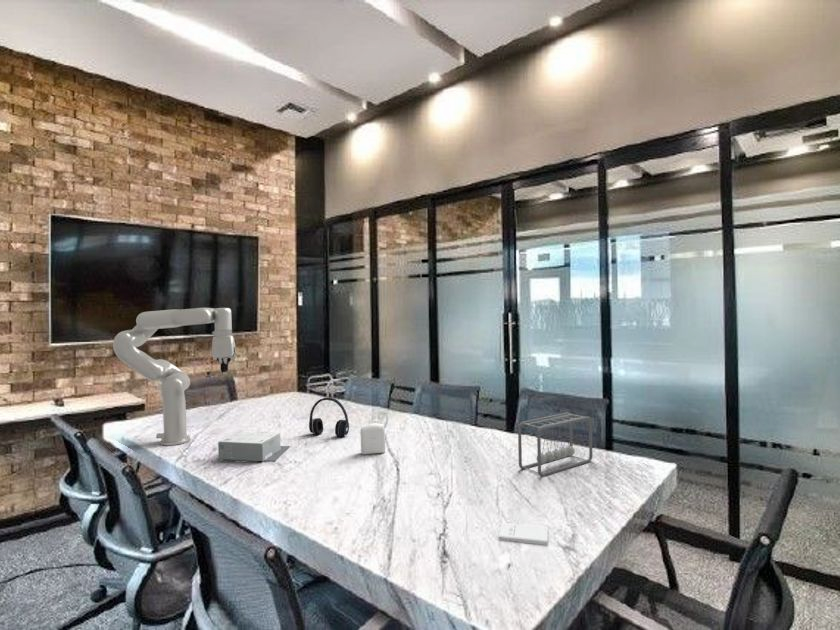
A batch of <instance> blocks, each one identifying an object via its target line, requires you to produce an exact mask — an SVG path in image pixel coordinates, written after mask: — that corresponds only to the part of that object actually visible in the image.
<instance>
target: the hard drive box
mask: <svg viewBox="0 0 840 630" xmlns="http://www.w3.org/2000/svg"><path fill="white" fill-rule="evenodd" d="M281 446H282V444H281V433H279V432H278V433H277V432H275V433H272V432H249V431H248V432H247V431H246V432H244V431H240V432H236V433H235V434H232V435H230V436H228V437H225V438H222V439H221V440H219V441H218V442H217V447H218V450H217V451H218V460H221V461H222V460H243V461H262V462H263V461H264V460H266V459H267V458H269V457H271V456H272V455H274V454H275V453H277V452H278V451H280V450H281ZM262 462H261V463H262Z"/></svg>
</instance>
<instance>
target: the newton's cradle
mask: <svg viewBox="0 0 840 630" xmlns="http://www.w3.org/2000/svg"><path fill="white" fill-rule="evenodd" d="M573 416H574V417H575V418H573ZM566 417H567V418H568V419H565V418H566ZM561 418H562V420H563V421H559V419H561ZM555 419H556V420H555ZM552 420H554V422H552ZM587 420H588V440H589V441H588V442H589V443H588V446H589V447H588V448H589V449H588V450H589V455H588V459H585V458H582V457H579V456H576V455H574V454H575V448H574V447H573V446H574V445H573V441H574V440H573V439H574V438H573V437H574V436H573V431H574V428H573V427H574V424H575V423H578V422H582V421H587ZM548 421H549V424H545V423H546V422H547V423H548ZM555 421H556V422H555ZM542 422H545V423H543V425H542ZM538 423H539V424H541V425H540V426H538V425H533V424H538ZM524 425H527V426H530V427H533V428H537V431H536V432H537V433H536V435H537V436H536V437H537V438H536V440H537V441H536V442H537V445H536V446H537V447H536V450H537V455H536V462H532V463H528V464H526V465H523V462H522V460H523V458H522V457H523V456H522V454H523V453H522V452H523V451H522V427H523V426H524ZM567 425H569V427H568V426H567ZM561 426H565V434H564V435H565V436H564V438H566V437H567V438H566V439H567V440H569V442H567V446H561V447H560V448H559V447H558V445H559V444H557V445H556V444H555V441H553V439H555V436H554V429H555V428H556V427H557V428H558V427H559V428H558V431H559V433H558V435H559V437H558V441H557V442H559V439H562V437H561ZM567 428H568V429H569V437H568V436H567V434H568V433H567V430H568V429H567ZM549 429H551V430H552V432H551V433H552V434H551V437H552V439H551V440H550V441H551V442H550V444H552V443H554V445H556V447H554V449H553V450H552V446H550V448H547V450H548V451H546V452H545V453H544V451H542V449H544V447H545V445H543V446H542V443H541V442H542V441H541V437H542V436H541V435H542V434H541V433H542V432H543V431H544V432H545V435H544V437H545V438H544V441H543V443H545V442H546V440H548V438H547V430H549ZM517 432H518V433H517V434H518V435H517V438H518V439H517V440H518V443H517V444H518V467H519V468H520V469H521V470H528V471H529V472H533V473H535V474H537V475H539V476H540V477H546V476H549V475H552V474H556V473H559V472H562V471H565V470H568V469H572V468H574V467H577V466H581V465H584V464H588V463H590V462H591V461H592V459H593V420H592V418H591V417H590V416H584V415H583V416H582V415H579V414H578V415H577V414H572V413H571V412H568V411H567V412H563V413H557V414H553V415H548V416H544V417H538V418H533V419H529V420H525V421H524V420H523V421H521V422H520V423H519V424H518V427H517ZM563 442H564V443H562V441H560V444H561V445H565V443H566V440H564V441H563ZM546 445H547V446H549V443H548V442H546ZM541 446H542V447H541ZM541 448H542V449H541ZM558 448H559V449H558ZM551 450H552V451H551ZM568 457H573V458H577V459H579V460H581V461H578V462H577V461H576V462H575V463H574V462H573V463H572V464H568V465H564V466H561V467H558V468H555V469H551V470H549V471H545V472H542V465H545V464H546V463H551V462H554V461H558V460H561V459H564V458H568ZM536 466H537V471H535V470H533V469H530V468H532V467H536Z"/></svg>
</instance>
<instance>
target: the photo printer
mask: <svg viewBox="0 0 840 630" xmlns="http://www.w3.org/2000/svg"><path fill="white" fill-rule="evenodd" d="M384 426H385V425H384V424H381V423H375V422H373V423H372V422H371V423H367V424H364V425H362V426H361V429H360V447H361V448H360V453H361V455H370V454H383V453H386V434H385V433H386V432H385V431H386V430H385V427H384Z"/></svg>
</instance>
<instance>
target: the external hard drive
mask: <svg viewBox="0 0 840 630" xmlns="http://www.w3.org/2000/svg"><path fill="white" fill-rule="evenodd" d="M499 528H500V529H499V533H498V540H499V539H501V540H500V541H506V540H511V541H510V542H515V541H519V542H518V543H523V542H526V544H532V543H535V545H541V544H542V546H548V545H549V527H548V526H540V525H538V526H537V525H529V524H528V525H527V524H517V523H506V522H501V523H500V527H499Z"/></svg>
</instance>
